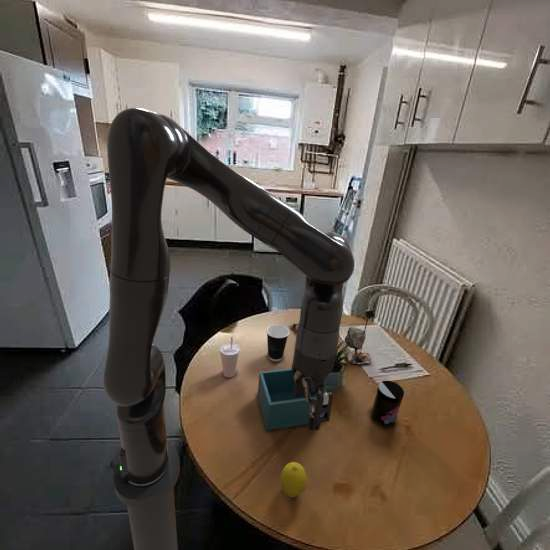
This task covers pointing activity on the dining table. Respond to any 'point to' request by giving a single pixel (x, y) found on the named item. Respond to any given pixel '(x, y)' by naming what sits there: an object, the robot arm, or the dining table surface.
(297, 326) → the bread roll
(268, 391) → the teal lidded box
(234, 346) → the smoothie
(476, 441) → the dining table surface
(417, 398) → the dining table surface
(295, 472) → the lemon
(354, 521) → the dining table surface
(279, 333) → the dixie cup
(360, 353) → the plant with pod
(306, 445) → the dining table surface
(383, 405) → the supplement container
